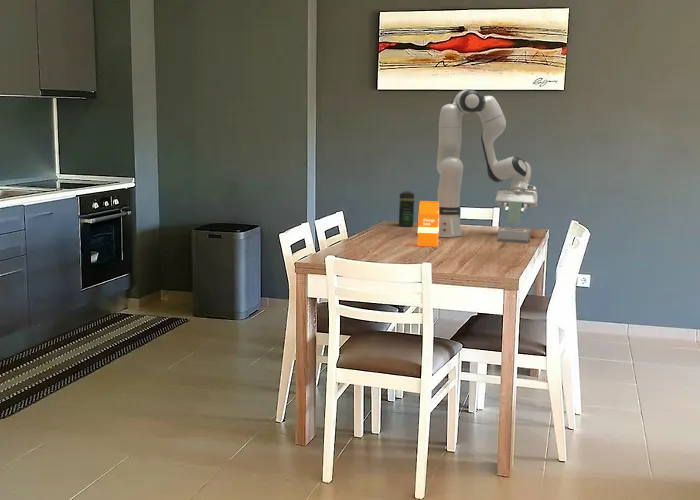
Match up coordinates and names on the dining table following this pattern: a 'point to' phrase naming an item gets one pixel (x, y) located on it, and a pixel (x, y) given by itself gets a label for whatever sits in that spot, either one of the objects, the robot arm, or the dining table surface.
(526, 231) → the gray slotted block
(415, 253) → the dining table surface
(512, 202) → the green rectangular block
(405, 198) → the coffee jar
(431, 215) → the orange juice
